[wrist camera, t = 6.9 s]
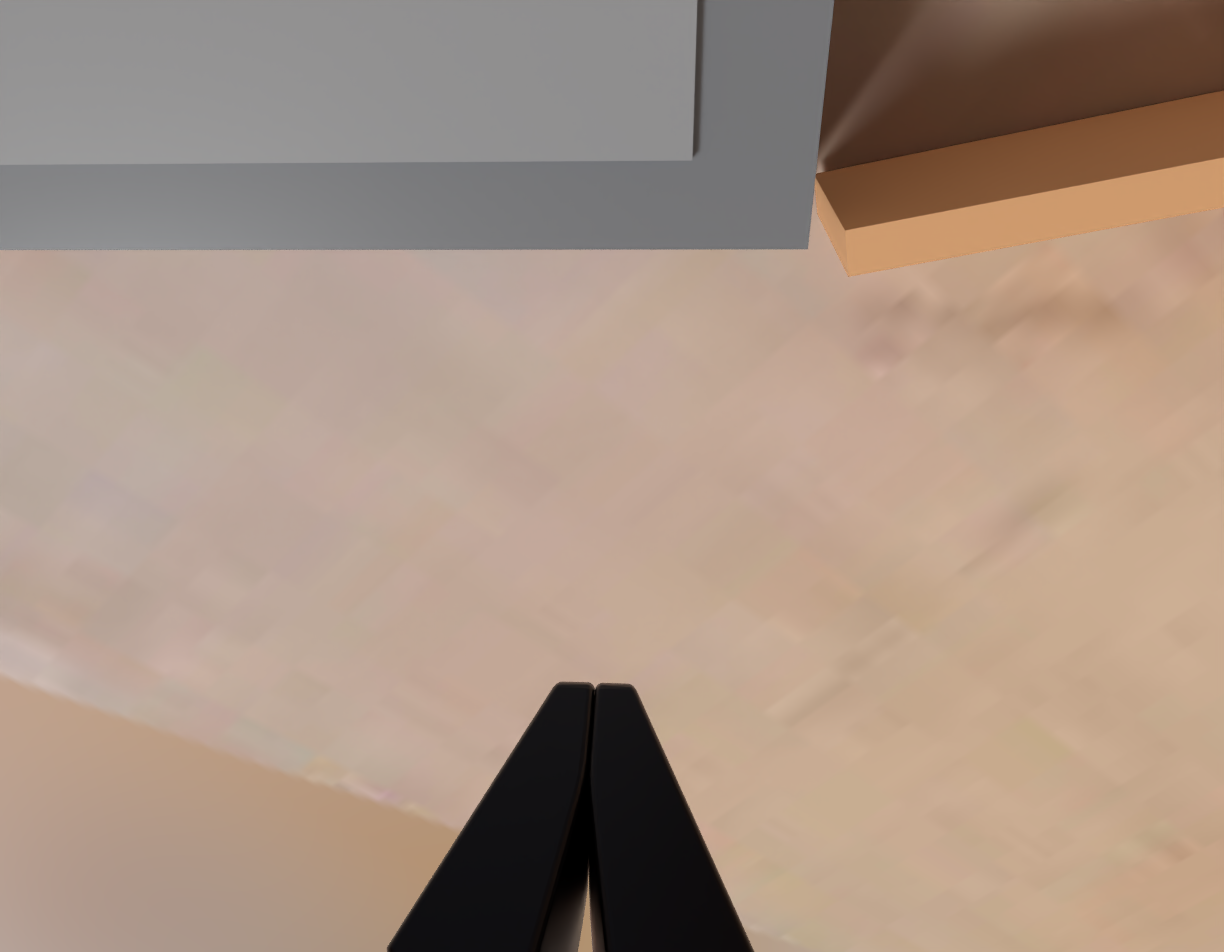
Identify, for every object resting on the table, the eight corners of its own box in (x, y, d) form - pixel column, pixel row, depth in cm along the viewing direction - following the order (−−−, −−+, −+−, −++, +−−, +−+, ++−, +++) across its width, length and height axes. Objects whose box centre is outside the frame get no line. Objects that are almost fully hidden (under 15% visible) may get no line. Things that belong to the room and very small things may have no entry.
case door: (813, 173, 17) (845, 230, 14) (1502, 33, 15) (1706, 64, 12) (819, 233, 18) (850, 298, 15) (1481, 104, 16) (1669, 150, 13)
